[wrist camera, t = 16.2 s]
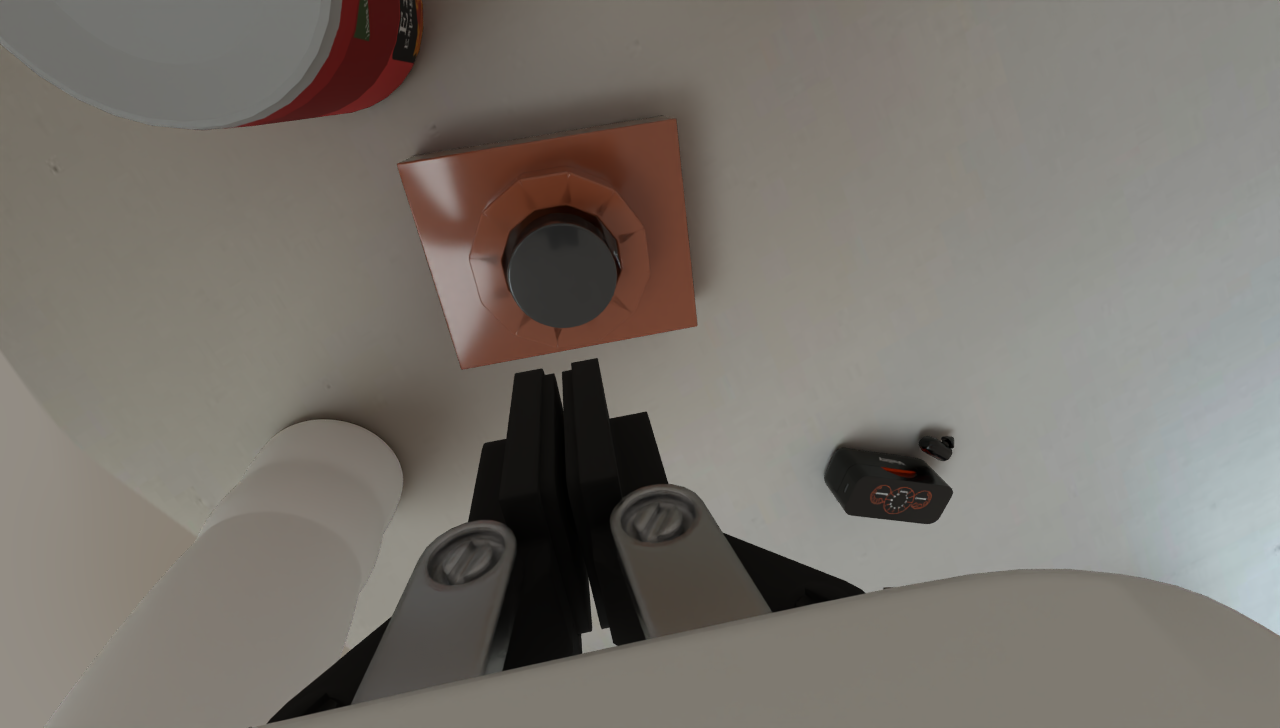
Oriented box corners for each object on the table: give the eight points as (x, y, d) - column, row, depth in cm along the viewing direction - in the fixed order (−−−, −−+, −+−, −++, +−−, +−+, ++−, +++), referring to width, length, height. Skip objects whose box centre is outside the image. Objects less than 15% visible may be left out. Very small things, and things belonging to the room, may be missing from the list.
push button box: (469, 344, 29) (454, 391, 24) (412, 155, 25) (382, 170, 20) (684, 304, 29) (708, 343, 25) (663, 114, 25) (687, 120, 21)
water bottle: (272, 397, 28) (-756, 1539, 6) (419, 432, 30) (49, 1392, 8) (255, 507, 31) (-514, 1596, 9) (391, 532, 33) (52, 1476, 11)
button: (524, 318, 24) (521, 337, 22) (499, 221, 22) (494, 233, 20) (619, 301, 24) (624, 318, 22) (603, 204, 22) (608, 214, 20)
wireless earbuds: (915, 492, 37) (946, 526, 34) (817, 479, 36) (841, 514, 33) (948, 431, 35) (983, 462, 32) (846, 415, 34) (873, 446, 31)
